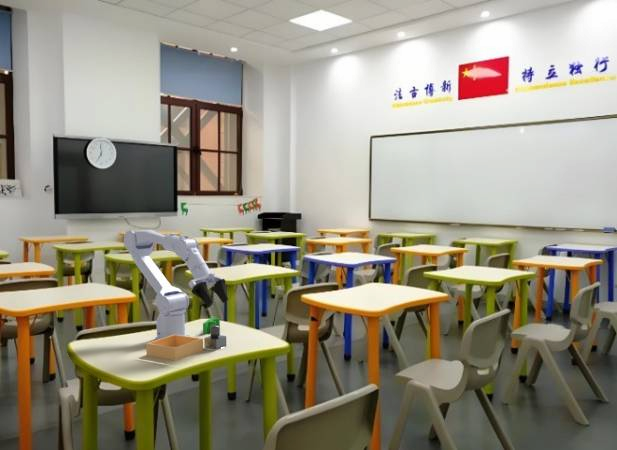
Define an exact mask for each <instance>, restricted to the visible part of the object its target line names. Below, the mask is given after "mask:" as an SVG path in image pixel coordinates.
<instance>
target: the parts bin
mask: <svg viewBox="0 0 617 450" xmlns="http://www.w3.org/2000/svg"><path fill="white" fill-rule="evenodd" d="M145 344H146V345H145V346H146V349H145V350H146V356H149V357H156V358H160V359H167V360H172V361H179V360H180V359H182V358H186V357H188V356H191V355H194V354H196V353H198V352H201V351H203V350H204V338H200V337H195V336H190V337H189V336H182V335H175V334H174V335H171V336H168V337H165V338H162V339H159V340H158V339H155V340H152V341H150V342H147V343H145Z"/></svg>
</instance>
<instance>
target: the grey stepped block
mask: <svg viewBox="0 0 617 450" xmlns="http://www.w3.org/2000/svg"><path fill="white" fill-rule="evenodd" d="M210 331H211V332H210V335H209V336H206V337H204V338H203V348H204V349H205V348H209V349H215V350H214V351H218V350H217V349H219V350H221V349H220V348H222V347H225V346H226V347H227V336H226V335H221V325H220V326H219V325H212V326H210Z"/></svg>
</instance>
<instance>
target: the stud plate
mask: <svg viewBox="0 0 617 450" xmlns="http://www.w3.org/2000/svg"><path fill="white" fill-rule="evenodd" d="M226 348H227V345H226V346H225V347H222V348H220V349H217V350H215V349H209V348H205V347H204V349H205V350H208V351H218V350H223V349H226Z"/></svg>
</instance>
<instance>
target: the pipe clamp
mask: <svg viewBox="0 0 617 450" xmlns="http://www.w3.org/2000/svg"><path fill="white" fill-rule="evenodd" d="M220 321H221V320H220V318H216V316H211V317H210V318H208V319H207V320H205V321H204V322H203V323H202V335H207V334H208V333H211V331H210V326H212V325H219V326H220V327H221V322H220Z"/></svg>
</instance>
